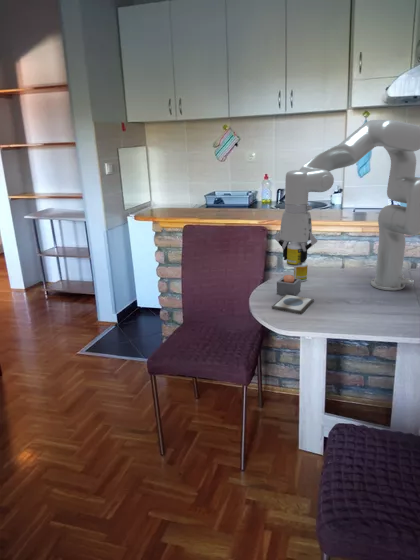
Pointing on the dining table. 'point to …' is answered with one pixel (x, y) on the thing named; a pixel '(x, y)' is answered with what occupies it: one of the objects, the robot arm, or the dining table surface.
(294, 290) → the button housing
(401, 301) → the dining table surface
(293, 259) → the supplement bottle
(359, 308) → the dining table surface
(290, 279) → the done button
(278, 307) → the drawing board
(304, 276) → the supplement bottle
